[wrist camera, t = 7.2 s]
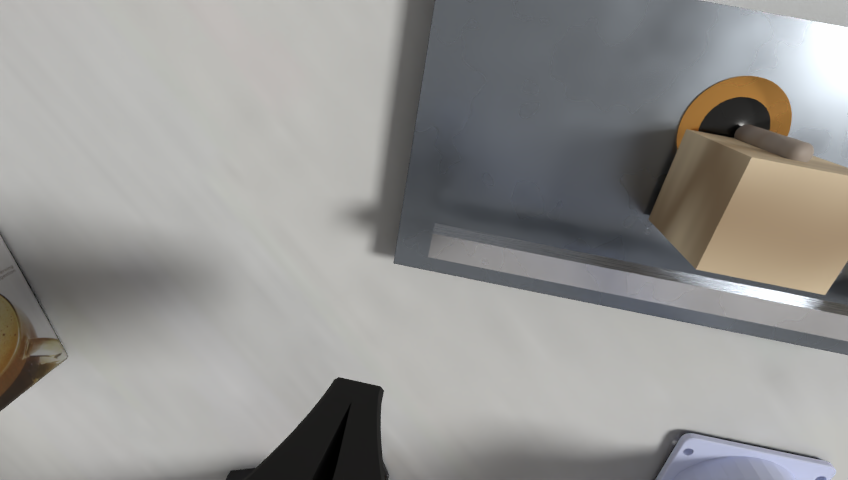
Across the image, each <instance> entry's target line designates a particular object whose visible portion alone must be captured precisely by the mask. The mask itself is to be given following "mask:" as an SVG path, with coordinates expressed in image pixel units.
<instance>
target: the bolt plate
mask: <svg viewBox="0 0 848 480" xmlns="http://www.w3.org/2000/svg"><path fill="white" fill-rule="evenodd" d="M746 124H749V125H753V126H756V127H759V128H762V129H765V130H769V131H772V132H775V133H778V134H781V135H784V136H788V137H791V138H794V139H797V140H800V141H803V142H807V143H809V144H811V145H812V146H813V148H814V154H813V156H815V157H818V158H821V159H824V160H827V161H830V162H833V163H835V164H838V165H841V166H844V167H847V168H848V27H843V26H837V25H832V24H826V23H821V22H815V21H810V20H804V19H799V18H793V17H788V16H782V15H777V14H771V13H766V12H760V11H755V10H749V9H744V8H738V7H733V6H727V5H722V4H716V3H711V2H705V1H700V0H435V4H434V11H433V17H432V23H431V30H430V36H429V42H428V49H427V55H426V61H425V68H424V74H423V80H422V87H421V93H420V99H419V106H418V112H417V118H416V125H415V131H414V137H413V144H412V150H411V156H410V163H409V169H408V175H407V182H406V188H405V194H404V201H403V207H402V213H401V220H400V226H399V232H398V239H397V245H396V251H395V258H394V264H399V265H404V266H409V267H414V268H419V269H424V270H429V271H434V272H439V273H444V274H449V275H454V276H459V277H464V278H469V279H474V280H479V281H483V282H488V283H493V284H498V285H503V286H508V287H513V288H518V289H523V290H528V291H533V292H538V293H543V294H548V295H553V296H558V297H563V298H568V299H573V300H578V301H583V302H588V303H593V304H597V305H602V306H607V307H612V308H617V309H622V310H627V311H632V312H637V313H642V314H647V315H652V316H657V317H662V318H667V319H672V320H677V321H682V322H687V323H692V324H697V325H702V326H707V327H711V328H716V329H721V330H726V331H731V332H736V333H741V334H746V335H751V336H756V337H761V338H766V339H771V340H776V341H781V342H786V343H791V344H796V345H801V346H806V347H811V348H816V349H821V350H826V351H830V352H835V353H840V354H845V355H848V341H843V340H838V339H833V338H828V337H823V336H818V335H813V334H808V333H804V332H799V331H794V330H789V329H784V328H779V327H774V326H769V325H764V324H759V323H754V322H749V321H744V320H739V319H734V318H729V317H724V316H719V315H714V314H709V313H704V312H699V311H694V310H689V309H684V308H679V307H674V306H669V305H664V304H659V303H654V302H649V301H644V300H639V299H634V298H629V297H624V296H619V295H614V294H609V293H604V292H599V291H594V290H589V289H585V288H580V287H575V286H570V285H565V284H560V283H555V282H550V281H545V280H540V279H535V278H530V277H525V276H520V275H515V274H510V273H505V272H500V271H495V270H490V269H485V268H480V267H475V266H470V265H465V264H460V263H455V262H450V261H445V260H440V259H435V258H430V257H428V255H429V249H430V244H431V239H432V234H433V229H434V225H435V223H437V224H442V225H447V226H452V227H457V228H462V229H467V230H472V231H477V232H482V233H487V234H492V235H497V236H502V237H507V238H512V239H517V240H523V241H528V242H533V243H538V244H543V245H548V246H553V247H558V248H563V249H568V250H573V251H578V252H583V253H588V254H593V255H598V256H603V257H608V258H613V259H618V260H623V261H628V262H633V263H638V264H643V265H648V266H653V267H658V268H663V269H668V270H673V271H678V272H684V273H689V274H694V275H699V276H704V277H709V278H714V279H719V280H724V281H729V282H734V283H739V284H744V285H749V286H754V287H759V288H764V289H769V290H774V291H779V292H784V293H789V294H794V295H799V296H804V297H809V298H814V299H819V300H824V301H829V302H834V303H839V304H845V305H848V261H847V263H846V264H845V266H844V267H843V269H842V270H841V272H840V273H839V275H838V276H837V278H836V279H835V281H834V282H833V284H832V285H831V287H830V288H829V290H828V291H827V293H826V294H825V295H822V294H817V293H812V292H807V291H802V290H797V289H792V288H787V287H782V286H777V285H772V284H767V283H761V282H756V281H751V280H746V279H741V278H736V277H731V276H726V275H721V274H716V273H711V272H706V271H701V270H696V269H695V268H694V267H693V266H692V265H691V264H690V263H689V262H688V261H687V260H686V259H685V257H684V256H683V255H682V254H681V253H680V252H679V251H678V250H677V249H676V248H675V247H674V246H673V245H672V244H671V243H670V242H669V241H668V240H667V239H666V237H665V236H664V235H663V234H662V233H661V232H660V231H659V230H658V229H657V228H656V227H655V226H654V225H653V224H652V223H651V222H650V221H649V220H648V219H649V217H650V214H651V212H652V210H653V207H654V205H655V202H656V200H657V198H658V195H659V193H660V191H661V188H662V186H663V183H664V181H665V179H666V176H667V174H668V172H669V169H670V167H671V164H672V162H673V160H674V157H675V155H676V153H677V150H678V148H679V145H680V143H681V141H682V138H683V136H684V134H685V131H686V129H689V130H694V131H699V132H704V133H710V134H715V135H720V136H725V137H731V138H734V134H735V132H736V130H737V129H738V128H739V127H741V126H743V125H746Z"/></svg>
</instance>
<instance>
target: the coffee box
mask: <svg viewBox="0 0 848 480" xmlns="http://www.w3.org/2000/svg"><path fill="white" fill-rule="evenodd" d="M67 357H68V356H67V354H66V352H65V350H64V348H63V346H62V345H61V343H60V341H59V340H58V338H57V336H56V334H55V332H54V331H53V329H52V327H51V325H50V323H49V321H48V320H47V318H46V316H45V314H44V312H43V311H42V309H41V307H40V305H39V303H38V302H37V300H36V298H35V296H34V294H33V292H32V291H31V289H30V287H29V285H28V284H27V282H26V280H25V278H24V276H23V275H22V273H21V271H20V269H19V267H18V266H17V264H16V262H15V260H14V258H13V257H12V255H11V253H10V251H9V250H8V248H7V246H6V244H5V242H4V241H3V239H2V237H1V235H0V411H1V410H2V409H4V408H5V407H6V406H7V405H9V404H10V403H11V402H12V401H14V400H15V399H16V398H18V397H19V396H20V395H21V394H22V393H24V392H25V391H26V390H27V389H29V388H30V387H31V386H33V385H34V384H35V383H36V382H38V381H39V380H40V379H41V378H42V377H44V376H45V375H46V374H47V373H49V372H50V371H51V370H53V369H54V368H55V367H57V366H58V365H59V364H61V363H62V362H63V361H65V360H66V359H67Z"/></svg>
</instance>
